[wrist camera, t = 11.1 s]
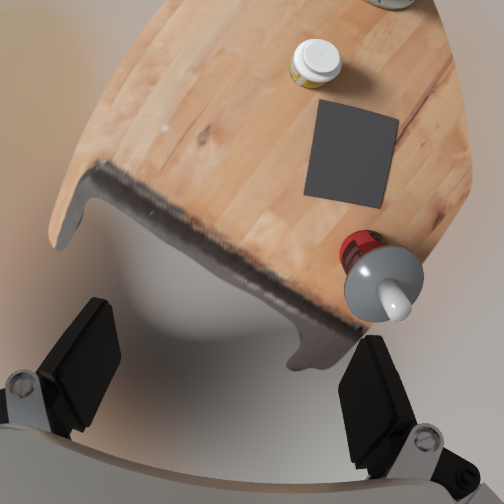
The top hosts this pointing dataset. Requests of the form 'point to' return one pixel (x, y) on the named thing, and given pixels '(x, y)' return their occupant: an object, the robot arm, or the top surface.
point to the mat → (350, 154)
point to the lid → (384, 284)
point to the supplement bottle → (315, 63)
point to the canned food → (358, 247)
